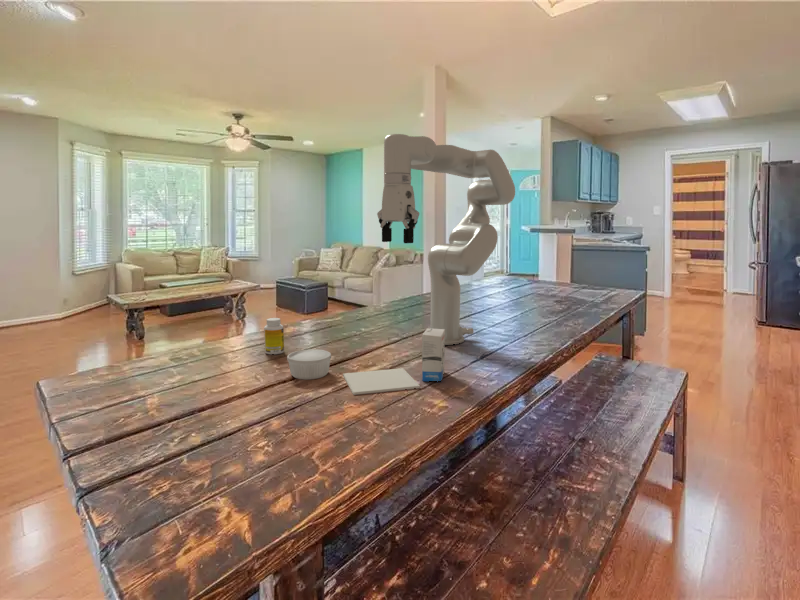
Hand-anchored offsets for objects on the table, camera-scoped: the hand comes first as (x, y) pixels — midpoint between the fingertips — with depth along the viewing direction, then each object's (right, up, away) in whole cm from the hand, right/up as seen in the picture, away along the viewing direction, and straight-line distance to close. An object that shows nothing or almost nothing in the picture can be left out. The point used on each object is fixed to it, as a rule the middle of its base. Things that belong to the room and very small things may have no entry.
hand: (397, 242), depth 139 cm
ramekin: (-23, -36, -13) cm, 44 cm away
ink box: (+9, -36, -15) cm, 40 cm away
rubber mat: (-4, -37, -19) cm, 41 cm away
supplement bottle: (-37, -32, +7) cm, 49 cm away
